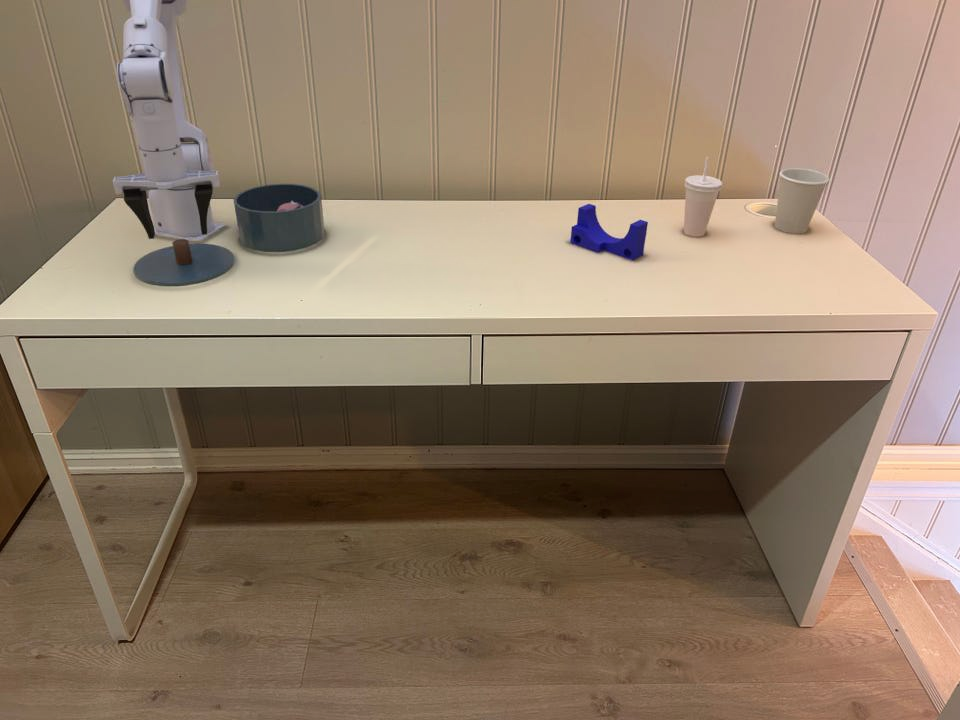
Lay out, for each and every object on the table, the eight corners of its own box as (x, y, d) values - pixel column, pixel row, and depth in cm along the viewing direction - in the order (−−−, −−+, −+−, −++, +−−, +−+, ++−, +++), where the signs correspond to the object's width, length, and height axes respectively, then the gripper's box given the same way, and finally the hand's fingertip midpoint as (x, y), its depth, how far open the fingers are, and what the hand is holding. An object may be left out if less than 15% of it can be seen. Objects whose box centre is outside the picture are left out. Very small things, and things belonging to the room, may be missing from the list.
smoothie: (673, 236, 131) (686, 158, 124) (679, 224, 137) (692, 149, 129) (709, 241, 129) (725, 163, 122) (714, 229, 135) (729, 153, 127)
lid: (113, 280, 112) (105, 253, 109) (176, 244, 124) (170, 219, 122) (197, 295, 108) (191, 268, 106) (253, 256, 120) (249, 231, 118)
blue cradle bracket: (570, 242, 128) (573, 210, 125) (585, 235, 131) (588, 203, 128) (628, 263, 121) (632, 229, 118) (642, 255, 124) (647, 222, 121)
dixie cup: (815, 239, 132) (830, 185, 126) (766, 232, 134) (779, 178, 129) (814, 223, 138) (828, 171, 133) (767, 216, 141) (780, 165, 135)
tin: (223, 248, 123) (216, 205, 119) (268, 219, 135) (263, 179, 131) (298, 260, 120) (293, 217, 116) (338, 229, 131) (335, 189, 127)
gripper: (101, 156, 101) (124, 248, 108) (211, 150, 104) (227, 240, 111) (108, 143, 107) (130, 230, 114) (213, 137, 110) (228, 223, 117)
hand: (178, 234), depth 113 cm, fingers open, 7 cm apart
